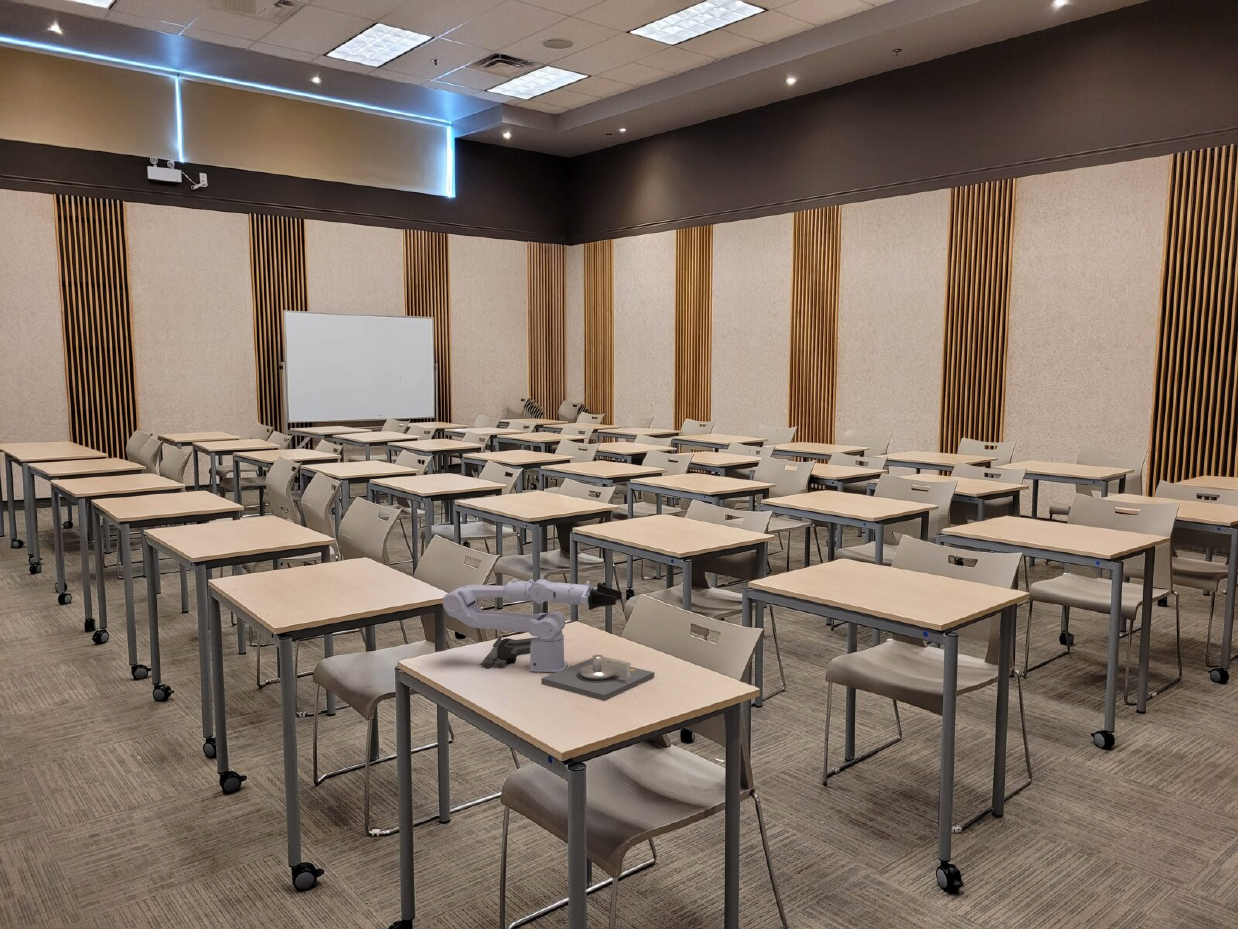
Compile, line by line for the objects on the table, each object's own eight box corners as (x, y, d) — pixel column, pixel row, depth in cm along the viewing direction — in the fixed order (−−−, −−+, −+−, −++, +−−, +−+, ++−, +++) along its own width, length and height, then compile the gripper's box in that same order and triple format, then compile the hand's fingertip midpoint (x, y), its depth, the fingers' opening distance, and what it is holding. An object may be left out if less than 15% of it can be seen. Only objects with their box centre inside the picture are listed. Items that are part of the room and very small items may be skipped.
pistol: (545, 637, 276) (499, 636, 278) (529, 663, 251) (478, 662, 253) (546, 644, 277) (499, 643, 278) (529, 671, 251) (478, 669, 253)
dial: (572, 675, 240) (572, 657, 239) (595, 665, 248) (595, 648, 247) (617, 686, 230) (617, 668, 230) (639, 676, 238) (639, 658, 238)
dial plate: (541, 683, 239) (541, 677, 239) (592, 662, 256) (592, 657, 256) (604, 700, 226) (604, 694, 225) (654, 677, 243) (654, 672, 243)
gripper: (565, 584, 241) (614, 588, 239) (578, 575, 256) (624, 579, 253) (564, 609, 242) (612, 614, 239) (577, 599, 256) (623, 603, 253)
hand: (618, 598), depth 246 cm, fingers open, 7 cm apart
